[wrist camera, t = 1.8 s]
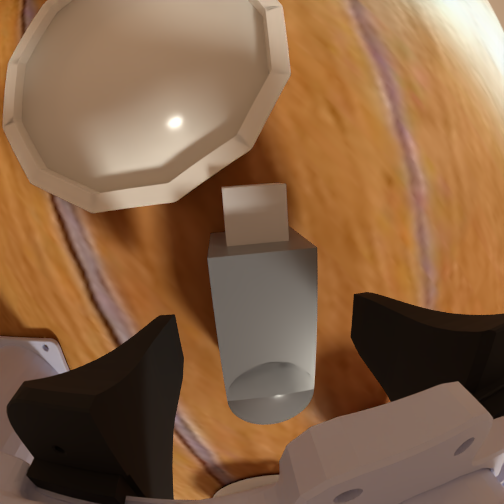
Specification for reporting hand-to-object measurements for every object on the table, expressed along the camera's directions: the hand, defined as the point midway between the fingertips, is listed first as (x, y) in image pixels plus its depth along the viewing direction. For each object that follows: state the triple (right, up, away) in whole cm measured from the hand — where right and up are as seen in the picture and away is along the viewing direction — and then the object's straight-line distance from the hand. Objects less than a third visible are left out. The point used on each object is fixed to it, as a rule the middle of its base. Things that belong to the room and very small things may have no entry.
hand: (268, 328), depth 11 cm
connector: (-1, +1, +4) cm, 4 cm away
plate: (-6, +12, 0) cm, 14 cm away
